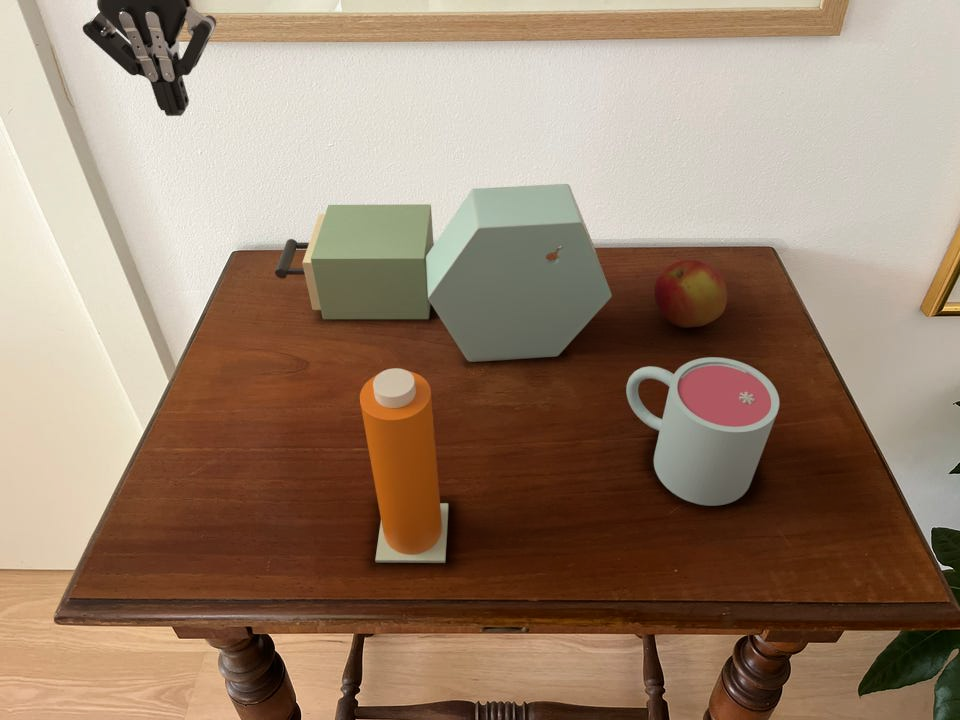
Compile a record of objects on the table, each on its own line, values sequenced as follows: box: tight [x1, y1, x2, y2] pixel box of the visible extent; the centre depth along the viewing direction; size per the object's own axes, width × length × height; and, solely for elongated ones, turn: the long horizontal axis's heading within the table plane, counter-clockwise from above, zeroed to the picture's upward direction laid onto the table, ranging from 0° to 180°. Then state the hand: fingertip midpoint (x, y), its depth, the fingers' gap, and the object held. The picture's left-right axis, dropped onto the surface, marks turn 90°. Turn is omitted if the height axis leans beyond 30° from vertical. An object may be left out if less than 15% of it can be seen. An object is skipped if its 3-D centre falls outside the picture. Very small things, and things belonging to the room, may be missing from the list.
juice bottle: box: [359, 367, 442, 554], centre depth 58 cm, size 5×5×18 cm
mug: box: [625, 356, 780, 507], centre depth 68 cm, size 14×9×10 cm
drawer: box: [274, 213, 325, 311], centre depth 89 cm, size 16×11×7 cm
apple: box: [653, 259, 728, 329], centre depth 83 cm, size 8×8×8 cm
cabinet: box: [311, 203, 435, 320], centre depth 88 cm, size 13×12×9 cm
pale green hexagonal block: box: [426, 183, 613, 363], centre depth 78 cm, size 17×8×21 cm
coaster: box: [375, 502, 449, 564], centre depth 64 cm, size 6×6×1 cm
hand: (176, 112), depth 77 cm, fingers closed
